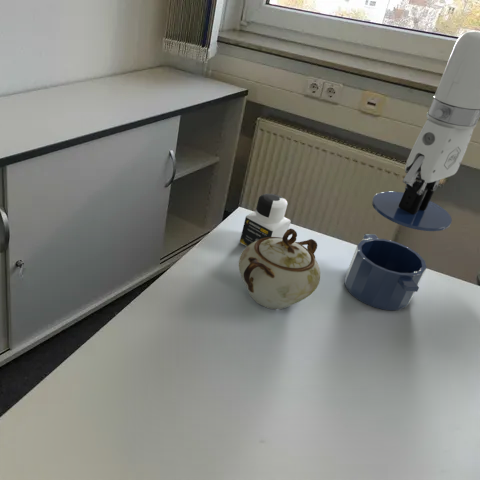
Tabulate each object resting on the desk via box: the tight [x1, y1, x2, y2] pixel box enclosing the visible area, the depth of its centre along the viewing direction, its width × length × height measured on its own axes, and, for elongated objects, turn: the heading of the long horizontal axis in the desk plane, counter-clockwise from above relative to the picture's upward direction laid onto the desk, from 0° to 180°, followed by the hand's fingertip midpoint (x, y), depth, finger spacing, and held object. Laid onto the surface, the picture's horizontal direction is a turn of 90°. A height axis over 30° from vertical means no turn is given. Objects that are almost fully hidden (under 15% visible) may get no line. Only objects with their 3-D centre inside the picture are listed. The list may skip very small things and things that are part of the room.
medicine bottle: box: [239, 193, 292, 247], centre depth 117 cm, size 7×7×12 cm
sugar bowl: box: [238, 228, 321, 310], centre depth 101 cm, size 20×15×15 cm
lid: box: [371, 187, 453, 232], centre depth 99 cm, size 14×14×6 cm
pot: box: [344, 233, 428, 311], centre depth 108 cm, size 13×18×8 cm
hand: (411, 208), depth 99 cm, fingers closed on lid, 2 cm apart
